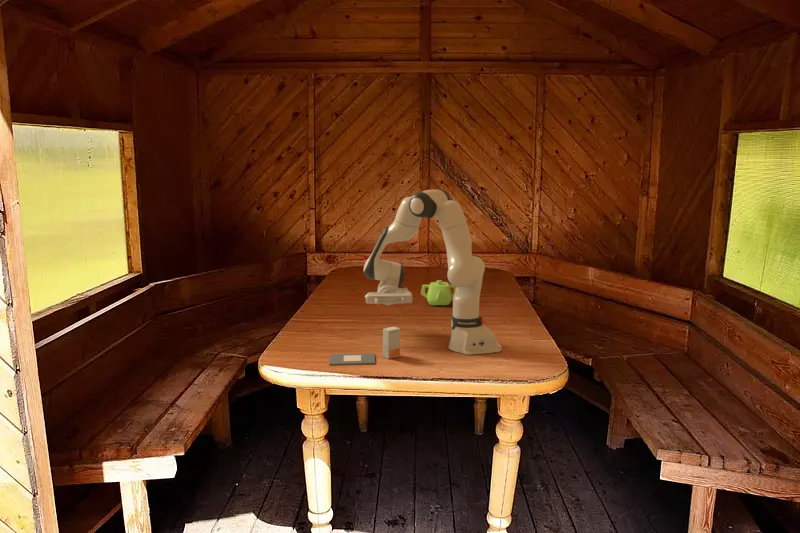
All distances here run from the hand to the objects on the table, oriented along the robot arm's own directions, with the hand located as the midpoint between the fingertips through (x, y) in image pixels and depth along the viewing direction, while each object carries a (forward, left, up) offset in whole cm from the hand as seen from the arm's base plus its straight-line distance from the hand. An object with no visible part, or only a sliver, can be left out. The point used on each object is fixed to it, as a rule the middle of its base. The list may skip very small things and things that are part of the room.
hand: (389, 302), depth 272 cm
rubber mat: (+16, +15, -20) cm, 30 cm away
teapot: (-31, -74, -20) cm, 83 cm away
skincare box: (0, +12, -20) cm, 24 cm away
